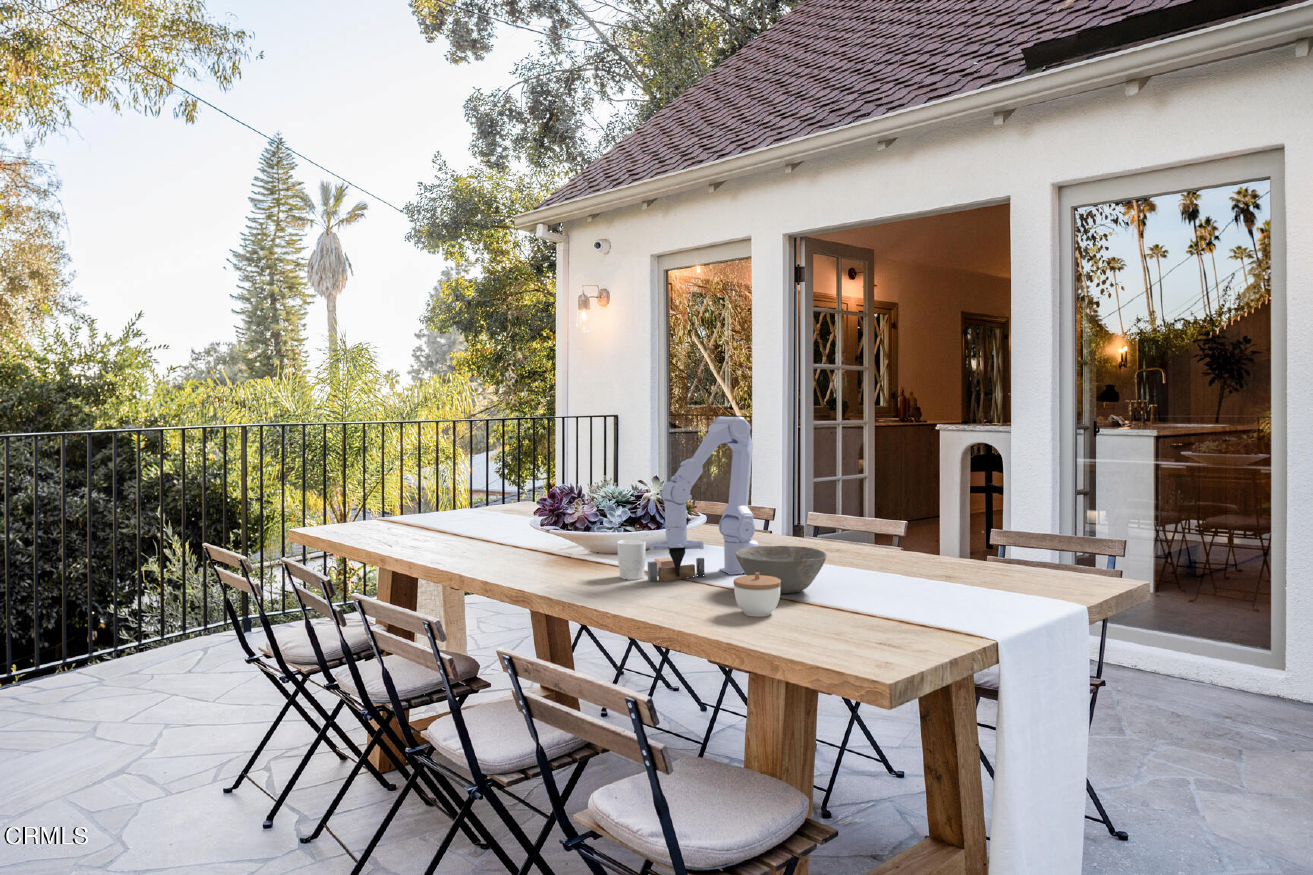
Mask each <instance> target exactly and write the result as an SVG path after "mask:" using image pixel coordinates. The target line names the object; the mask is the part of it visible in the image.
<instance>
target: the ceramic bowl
mask: <svg viewBox="0 0 1313 875" xmlns="http://www.w3.org/2000/svg"><path fill="white" fill-rule="evenodd" d="M735 555H736V557H737V559H738V561H739V563H740V565H741V567H742V569H743V570H744V572H745V573H744V574H745V576H749V575H755V573H756V572H758V573H759V575H764V576H772V577H776V578H779V579H780V580H781V585H780V595H782V594H795V593H801V592H802V591H805V590H806V589H808V587H810V586H811V584H812V583H813V582H814V580H815V579H816V577H817V576H818V574H819V572H820V571H821V570H822V568H823V566H824V564H825V561H826V559H827V553H826V552H825V551H822V550H820V549H818V548H814V547H808V546H800V545H799V546H795V545H794V546H792V545H791V546H789V545H758V546H757V547H750V548H743V549H740V550H737V551H736V552H735Z"/></svg>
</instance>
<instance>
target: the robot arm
mask: <svg viewBox="0 0 1313 875" xmlns="http://www.w3.org/2000/svg"><path fill="white" fill-rule="evenodd" d="M751 427H752V426H751V424H750V423H749V422H748V421H747V419H746V418H744V417H742V416H723V415H722V416H717V417H716V418H714V420H713V422H712V423H711V424H709V426H708V431H707V433H706V435H705V437H704V438H703V440H702V441H701V444H700V445H699V446H698V448H697V450H695V452H694V454H693V456H692V458H687V459H685V460H683V461H681V463H680V464H679V465H680V467H679V468H678V470H677V471H676V473H675V474H674V475H672V476H671V478H670V481H668V482H665V484H663V486H662V488H661V491H660V492H659V495H660V498H661V500H662V501H663V503H664V504H663V505H664V521H665V522H664V523H665V540H664V541H654V542H653V541H652V542H651V541H650V542H649V551H662V550H663V551H665V550H666V551H667V550H668V553H669V556H670V557H671V558H672V560H673V562H674V565H675V568H676V577H680V572H679V570H680V566H681V565H682V562H683V560H684V557H685V554H686V550H704V540H688V535H687V534H688V531H687V530H688V529H687V527H688V526H687V501H688V500H689V499H690V497H691V490H692V489H693V486H694V485H695V484H696V482H697V481H698V479H699V478H700V477H701V474H703V465H704V464H705V462H707V460H708V459H709V458H710V456H711V455H712V454H713V452H715V450H716V449H717V448H718V447H719V445H722V444H725V443H726V444H727V445H728V447H729V448H730V449H731V450H732V459H731V469H730V483H729V493H728V505H727V506H726V507H725V508H724V509H723V510H722V514H721V515H722V516H721V518H720V520H719V523H718V531H719V533H720V535H722V539H723V540H724V541H723V549H724V550H723V551H724V552H723V553H724V556H723V557H724V563H723V564H724V565H723V566H724V567H719V568H718V569H719V571H722V572H723V573H725V572H726V573H725V574H727V573H728V575H733V576H734V575H741V574H743V573H744V574H746V573H745V572H744V570H743V569H742V567H741V565H740V563H739V561H738V559H737V557H736V555H735V552H736V551H737V550H740V549H743V548H750V547H757V546H759V544H758V541H757V540H755V539H753V537H754V535H755V532H756V527H755V526H756V525H755V523H754V513H753V512H752V511H751V509H750V508H749V498H750V497H749V496H750V495H749V494H750V487H751V484H750V483H751V473H752V459H753V448H754V445H753V440H752V437H751Z"/></svg>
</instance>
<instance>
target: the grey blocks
mask: <svg viewBox="0 0 1313 875" xmlns="http://www.w3.org/2000/svg"><path fill="white" fill-rule="evenodd" d="M695 563H696V564H695V575H696V576H697V575H698V576H703V575H704V576H705V558H704V557H696V559H695ZM658 576H659V570H657V562H655V560H654V561H647V581H649V582H658Z"/></svg>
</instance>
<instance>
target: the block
mask: <svg viewBox="0 0 1313 875" xmlns="http://www.w3.org/2000/svg"><path fill="white" fill-rule="evenodd" d="M654 561H655V562H657V570H659V569H658V568H659V567H671V566H675V565H674V562H673V560H672V558H671V556H670V557H659V558H654Z"/></svg>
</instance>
